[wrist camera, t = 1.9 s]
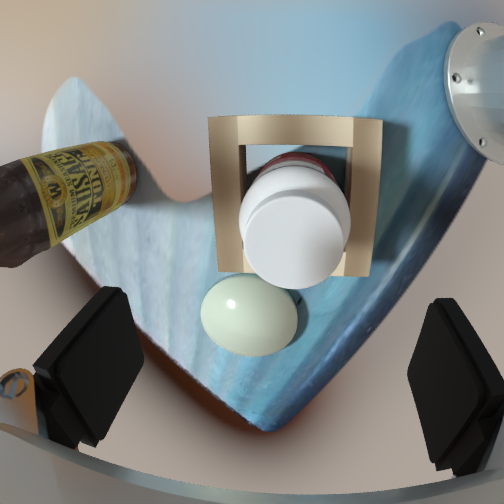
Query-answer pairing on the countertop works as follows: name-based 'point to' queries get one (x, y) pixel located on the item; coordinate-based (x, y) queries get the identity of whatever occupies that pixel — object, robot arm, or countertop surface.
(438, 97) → the countertop surface
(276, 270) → the pill bottle
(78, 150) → the sauce bottle
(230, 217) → the wooden square frame
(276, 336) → the saucer
